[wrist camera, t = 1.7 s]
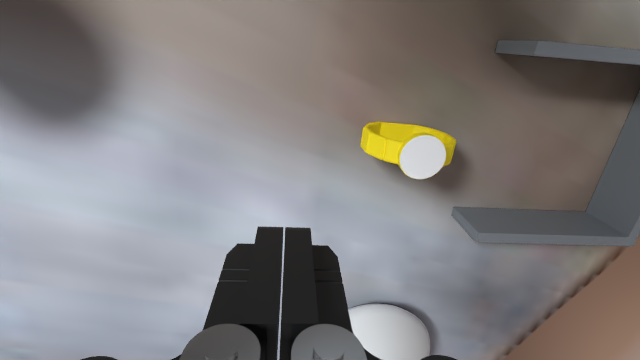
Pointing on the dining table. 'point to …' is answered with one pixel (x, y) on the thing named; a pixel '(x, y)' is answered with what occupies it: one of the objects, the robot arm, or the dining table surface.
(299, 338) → the robot arm
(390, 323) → the flower in vase
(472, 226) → the box
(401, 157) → the watch
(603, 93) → the dining table surface
